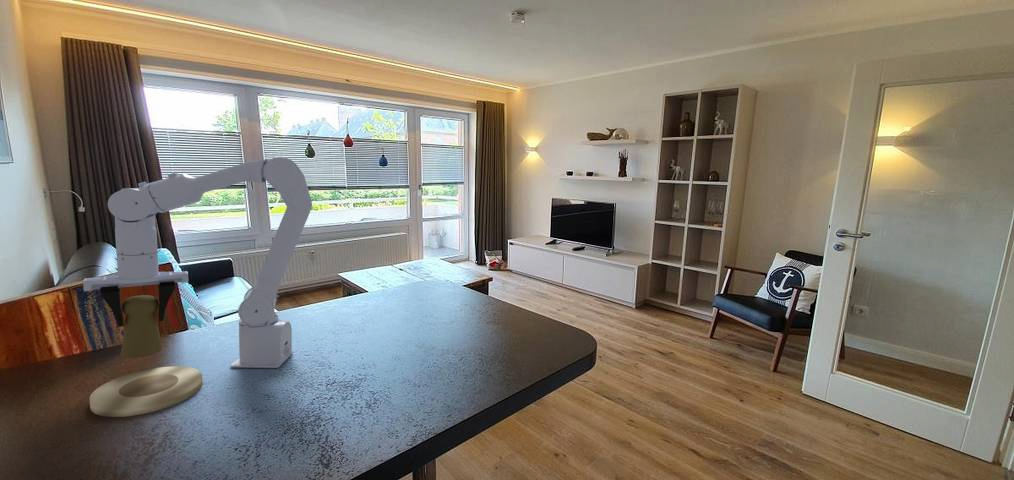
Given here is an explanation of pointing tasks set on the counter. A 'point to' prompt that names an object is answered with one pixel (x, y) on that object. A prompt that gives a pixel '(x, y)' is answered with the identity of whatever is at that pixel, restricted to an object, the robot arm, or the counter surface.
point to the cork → (140, 327)
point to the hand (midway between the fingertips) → (141, 322)
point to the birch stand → (145, 391)
